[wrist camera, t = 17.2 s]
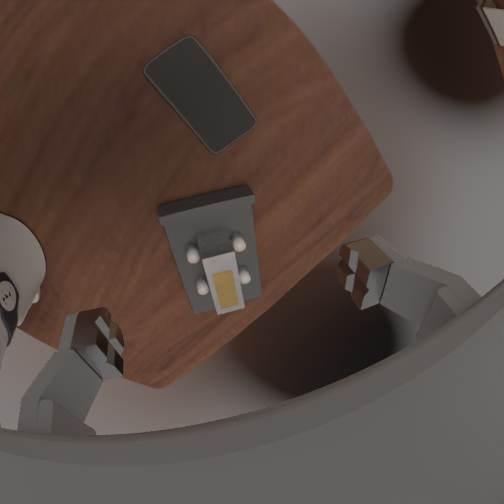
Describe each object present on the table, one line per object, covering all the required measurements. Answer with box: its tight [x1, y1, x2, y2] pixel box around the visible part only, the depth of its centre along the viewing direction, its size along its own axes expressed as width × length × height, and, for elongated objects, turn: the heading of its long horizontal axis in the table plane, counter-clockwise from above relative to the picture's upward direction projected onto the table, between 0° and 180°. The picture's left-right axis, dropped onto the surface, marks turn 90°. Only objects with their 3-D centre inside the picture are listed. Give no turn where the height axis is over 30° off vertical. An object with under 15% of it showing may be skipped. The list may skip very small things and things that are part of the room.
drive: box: [196, 227, 245, 315], centre depth 38 cm, size 10×4×6 cm, turn 7°
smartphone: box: [143, 36, 257, 154], centre depth 28 cm, size 7×1×15 cm
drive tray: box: [159, 185, 262, 314], centre depth 39 cm, size 12×20×4 cm, turn 7°
